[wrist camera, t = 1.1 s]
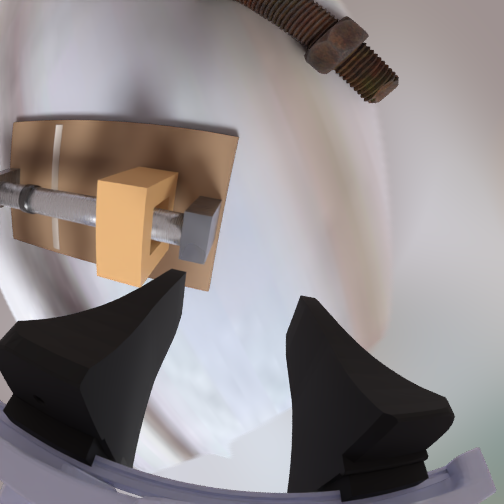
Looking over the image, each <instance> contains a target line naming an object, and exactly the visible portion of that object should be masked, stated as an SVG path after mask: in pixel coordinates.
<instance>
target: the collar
mask: <svg viewBox="0 0 504 504" xmlns="http://www.w3.org/2000/svg"><path fill="white" fill-rule="evenodd" d="M177 179H178V173H177V172H171V171H165V170H159V169H153V168H146V167H136V168H133V169H130V170H127V171H123V172H120V173H117V174H114V175H111V176H108V177H105V178H102V179H100V180H98V183H97V201H96V263H97V276H100V277H103V278H107V279H110V280H114V281H117V282H121V283H125V284H128V285H132V286H136V287H141V286H142V285H143V284H144V282H145V281H146V279H147V278H148V277H149V275H150V274H151V272H152V271H153V270H154V268H155V267H156V265H157V264H158V263H159V261H160V260H161V259H162V257H163V256H164V255H165V253H166V252H167V251H168V249H169V243H164V242H159V241H155V240H151V231H152V220H153V210H154V207H155V208H160V209H165V210H170V211H173V207H174V199H175V192H176V186H177Z"/></svg>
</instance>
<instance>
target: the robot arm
mask: <svg viewBox="0 0 504 504" xmlns="http://www.w3.org/2000/svg"><path fill="white" fill-rule="evenodd" d="M185 280H186V272H185V271H180V270H176V269H170V270H168V271H166V272H165V273H163V274H162V275H160V276H158V277H157V278H155V279H154V280H152V281H150V282H149V283H147V284H145V285H144V286H142V287H140V288H138V289H136V290H135V291H133V292H131V293H129V294H127V295H125V296H123V297H121V298H119V299H117V300H114V301H112V302H109V303H107V304H104V305H102V306H99V307H96V308H93V309H89V310H86V311H82V312H79V313H76V314H71V315H67V316H62V317H56V318H49V319H40V320H28V321H18V322H17V323H16V324H15V325H14V326H13V327H12V328H11V329H10V330H9V331H8V332H7V333H6V335H5V336H4V337H3V338H2V339H1V340H0V371H1V373H2V375H3V376H4V379H5V380H6V382H7V384H8V386H9V387H10V389H11V391H12V392H13V395H12V397H11V398H10V400H9V401H8V403H7V405H6V404H5V403H3V402H2V401H0V480H1V481H2V482H3V486H2V488H1V490H0V504H479V503H480V502H482V501H483V500H485V499H486V498H488V497H489V496H491V495H492V494H493V493H495V492H496V488H495V485H494V482H493V480H492V477H491V474H490V472H489V469H488V467H487V464H486V462H485V459H484V457H483V455H482V452H481V450H480V448H479V447H477V448H474V449H472V450H470V451H467V452H465V453H463V454H461V455H459V456H458V457H456V458H455V459H453V460H452V461H451V462H449V463H448V464H447V465H446V466H444V467H441V468H438V469H435V470H432V471H429V472H427V471H426V467H425V464H424V461H425V460H426V459H428V454H427V451H426V449H427V448H429V447H430V446H431V445H432V444H433V443H434V442H436V441H437V440H438V439H439V438H440V437H441V436H442V435H443V434H444V433H445V432H446V431H447V430H448V429H449V428H450V426H451V425H452V423H453V421H454V417H455V416H454V413H453V411H452V409H451V407H450V405H449V403H448V401H447V399H446V398H445V397H443V396H441V395H438V394H436V393H433V392H431V391H429V390H426V389H424V388H422V387H420V386H418V385H416V384H414V383H412V382H410V381H408V380H407V379H405V378H403V377H401V376H400V375H398V374H397V373H395V372H394V371H392V370H391V369H389V368H388V367H386V366H385V365H383V364H382V363H381V362H379V361H378V360H377V359H375V358H374V357H373V356H372V355H371V354H369V353H368V352H367V351H366V350H365V349H364V348H362V347H361V346H360V345H359V344H358V343H357V342H356V341H355V340H354V339H353V338H352V337H351V336H350V335H349V334H348V333H347V332H346V331H345V330H344V329H343V328H342V327H341V326H340V325H339V324H338V322H337V321H336V320H335V319H334V318H333V317H332V316H331V315H330V313H329V312H328V311H327V310H326V309H325V308H324V307H323V306H322V305H321V303H320V302H319V301H318V300H317V299H315V298H312V297H306V296H300V299H299V301H298V304H297V307H296V310H295V312H294V315H293V318H292V320H291V323H290V326H289V328H288V331H287V333H286V360H287V368H288V376H289V383H290V391H291V399H292V451H291V464H290V474H289V483H288V491H287V493H263V492H262V493H261V492H246V491H236V490H227V489H219V488H213V487H206V486H201V485H195V484H190V483H185V482H180V481H175V480H171V479H168V478H163V477H160V476H156V475H152V474H149V473H145V472H142V471H139V470H136V469H133V462H134V457H135V452H136V447H137V443H138V438H139V434H140V430H141V426H142V422H143V418H144V414H145V411H146V407H147V403H148V400H149V397H150V393H151V390H152V387H153V384H154V381H155V378H156V376H157V374H158V371H159V369H160V367H161V365H162V362H163V360H164V358H165V356H166V354H167V352H168V349H169V347H170V345H171V343H172V341H173V338H174V336H175V334H176V331H177V328H178V325H179V321H180V318H181V315H182V307H183V298H184V289H185ZM114 487H115V488H118V489H120V490H123V491H126V492H129V493H132V494H135V495H138V496H142V497H143V498H136V497H132V496H129V495H125V494H122V493H119V492H117V491H116V489H115V488H114Z"/></svg>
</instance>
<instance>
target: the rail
mask: <svg viewBox="0 0 504 504" xmlns="http://www.w3.org/2000/svg"><path fill="white" fill-rule="evenodd" d="M96 201H97V197H95V196H90V195H84V194H78V193H72V192H66V191H60V190H54V189H48V188H42V187H41V186H39V185H33V184H27V185H23V184H20V169H18V168H9V169H6V170H2V171H0V208H1V207H3V206H7V207H11V208H15V209H19V210H21V211H23V212H25V213H29V214H40V215H45V216H49V217H53V218H58V219H62V220H66V221H71V222H75V223H79V224H84V225H88V226H92V227H96ZM221 203H222V200H219V199H214V198H209V197H204V196H199V197H198V198H197V199H196V200H195V201H194V202H193V203H192V204H191V205H190V206H189V207H188V208H187V209H186V210H185V212H184V213H180V212H175V211H170V210H165V209H160V208H155V207H154V210H153V220H152V231H151V240H155V241H159V242H164V243H169V244H173V245H178V246H180V250H179V258H178V259H180V260H185V261H189V262H194V263H198V264H203V265H204V264H205V262H206V259H207V257H208V254H209V252H210V249H211V247H212V245H213V242H214V240H215V235H216V230H217V224H218V219H219V214H220V208H221Z"/></svg>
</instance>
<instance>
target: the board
mask: <svg viewBox="0 0 504 504" xmlns="http://www.w3.org/2000/svg"><path fill="white" fill-rule="evenodd" d="M238 140H239V137H235V136H229V135H224V134H218V133H213V132H207V131H200V130H194V129H187V128H180V127H172V126H163V125H154V124H144V123H132V122H118V121H97V120H45V121H25V122H14V124H13V133H12V144H11V162H10V168H18V169H20V184H23V185H27V184H33V185H39V186H41V187H42V188H48V189H54V190H60V191H66V192H72V193H78V194H84V195H90V196H95V197H97V183H98V180H100V179H102V178H105V177H108V176H111V175H114V174H117V173H120V172H123V171H127V170H130V169H133V168H136V167H146V168H153V169H159V170H165V171H171V172H177V173H178V179H177V186H176V192H175V199H174V207H173V211H175V212H180V213H184V212H185V210H186V209H187V208H188V207H189V206H190V205H191V204H192V203H193V202H194V201H195V200H196V199H197V198H198V197H199V196H204V197H209V198H214V199H219V200H222V203H221V208H220V214H219V219H218V224H217V230H216V235H215V240H214V242H213V245H212V247H211V249H210V252H209V254H208V257H207V259H206V262H205V264H204V265H203V264H198V263H194V262H189V261H185V260H180V259H178V258H179V250H180V246H178V245H173V244H169V249H168V251H167V252H166V253H165V255H164V256H163V257H162V259H161V260H160V261H159V263H158V264H157V265H156V267H155V268H154V270H153V271H152V272H151V274H150V275H149V277H148V278H152V279H155V278H157V277H158V276H160V275H162V274H163V273H165V272H166V271H168V270H170V269H176V270H180V271H185V272H186V280H185V286H186V287H190V288H194V289H199V290H203V291H209V288H210V282H211V276H212V270H213V265H214V259H215V253H216V248H217V243H218V237H219V232H220V227H221V221H222V216H223V211H224V206H225V201H226V196H227V191H228V186H229V181H230V177H231V172H232V167H233V162H234V158H235V153H236V149H237V144H238ZM11 216H12V227H13V237H14V239H17V240H20V241H23V242H26V243H29V244H32V245H35V246H38V247H42V248H45V249H48V250H51V251H54V252H58V253H61V254H64V255H68V256H71V257H74V258H78V259H81V260H85V261H88V262H92V263H95V264H97V263H96V227H92V226H88V225H84V224H79V223H75V222H71V221H66V220H62V219H58V218H53V217H49V216H45V215H40V214H29V213H25V212H23V211H21V210H19V209H15V208H11Z"/></svg>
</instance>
